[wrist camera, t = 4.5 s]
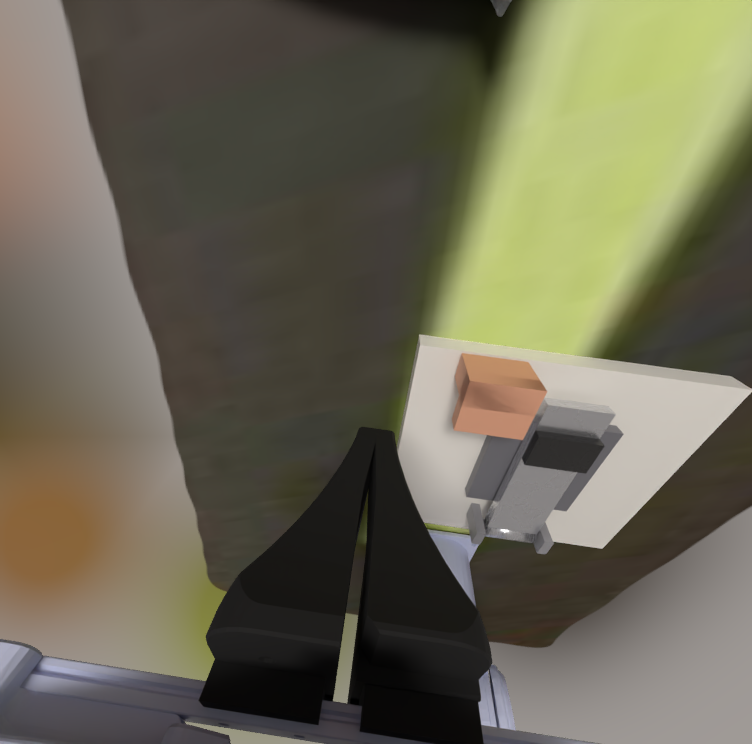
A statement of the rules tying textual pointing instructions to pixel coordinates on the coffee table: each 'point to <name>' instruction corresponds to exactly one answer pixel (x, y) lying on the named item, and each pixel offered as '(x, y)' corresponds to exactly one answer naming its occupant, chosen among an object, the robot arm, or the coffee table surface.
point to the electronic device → (500, 6)
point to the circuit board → (495, 454)
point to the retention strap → (546, 466)
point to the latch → (496, 396)
